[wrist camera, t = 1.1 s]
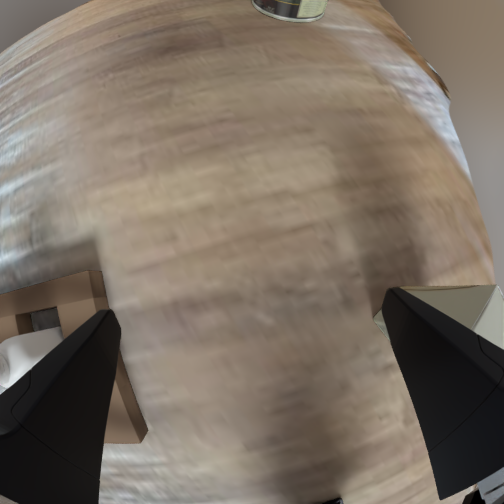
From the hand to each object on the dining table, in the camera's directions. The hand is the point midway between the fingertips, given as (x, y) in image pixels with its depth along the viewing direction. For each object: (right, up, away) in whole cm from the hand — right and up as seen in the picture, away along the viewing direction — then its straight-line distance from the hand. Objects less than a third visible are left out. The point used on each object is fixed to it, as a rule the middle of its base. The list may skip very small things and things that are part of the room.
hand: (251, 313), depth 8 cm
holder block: (-18, -9, +12) cm, 24 cm away
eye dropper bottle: (-18, -7, +12) cm, 23 cm away
